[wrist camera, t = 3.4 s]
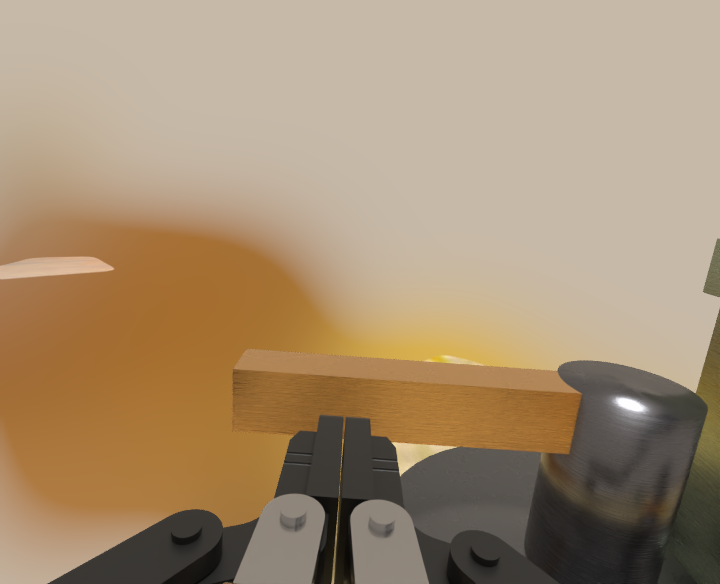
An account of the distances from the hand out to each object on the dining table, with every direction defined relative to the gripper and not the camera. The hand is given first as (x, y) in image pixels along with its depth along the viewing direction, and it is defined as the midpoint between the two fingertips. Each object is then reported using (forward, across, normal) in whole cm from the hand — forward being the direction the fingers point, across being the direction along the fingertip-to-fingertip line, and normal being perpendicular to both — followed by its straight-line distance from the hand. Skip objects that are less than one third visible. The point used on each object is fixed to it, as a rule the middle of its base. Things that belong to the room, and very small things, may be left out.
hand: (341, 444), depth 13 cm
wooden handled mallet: (+7, -6, +10) cm, 14 cm away
